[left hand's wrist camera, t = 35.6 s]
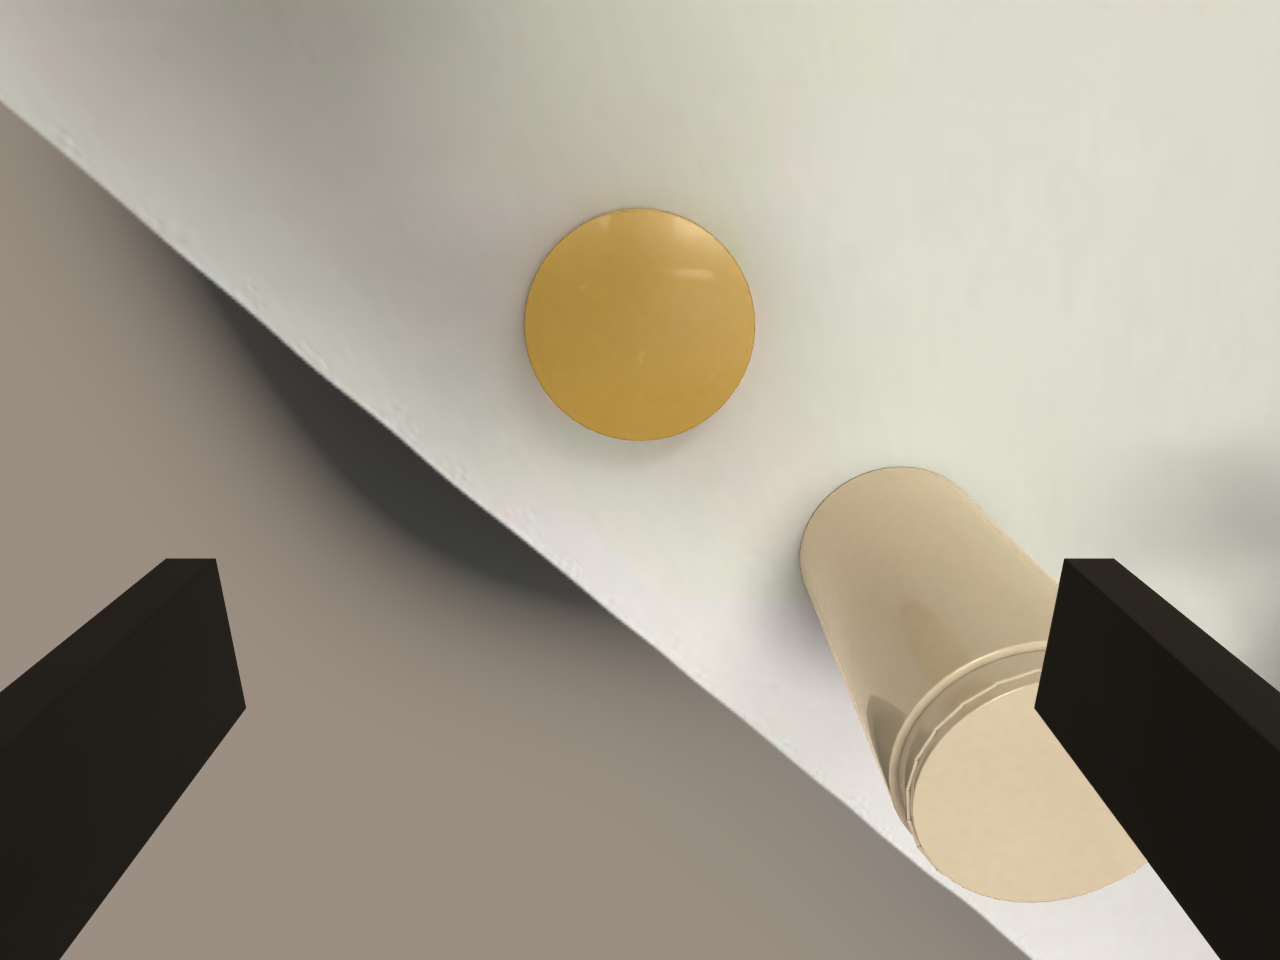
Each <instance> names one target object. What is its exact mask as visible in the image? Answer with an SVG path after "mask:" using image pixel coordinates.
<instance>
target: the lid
mask: <svg viewBox="0 0 1280 960" xmlns="http://www.w3.org/2000/svg"><path fill="white" fill-rule="evenodd" d="M754 334H755V314H754V308H753V302H752V297H751V294H750V290H749V287H748V284H747V282H746V280H745V277H744V275H743V273H742V271H741V269H740V267H739V266H738V264H737V263H736V261H735V260H734V258H733V256H732V255H731V254H730V253H729V252H728V250H727V249H726V248H725V247H724V246H723V245H722V244H721V243H720V242H719V241H718V240H717V239H716V238H715V237H714V236H712V235H711V234H710V233H709V232H708V231H706V230H705V229H703V228H702V227H700V226H699V225H697V224H696V223H694V222H692V221H690V220H688V219H686V218H684V217H682V216H679V215H676V214H673V213H670V212H667V211H662V210H656V209H647V208H632V209H622V210H618V211H613V212H609V213H606V214H603V215H600V216H598V217H595V218H593V219H591V220H589V221H587V222H586V223H584V224H582V225H580V226H579V227H577V228H576V229H575V230H573V231H572V232H571V233H569V234H568V235H567V236H566V237H564V238H563V239H562V240H561V241H560V242H559V243H558V244H557V245H556V246H555V247H554V248H553V249H552V251H551V252H550V253H549V255H548V256H547V257H546V258H545V260H544V261H543V263H542V265H541V266H540V268H539V270H538V272H537V273H536V276H535V278H534V280H533V283H532V285H531V288H530V291H529V295H528V299H527V303H526V310H525V340H526V348H527V351H528V355H529V359H530V363H531V365H532V367H533V370H534V372H535V375H536V377H537V379H538V380H539V382H540V384H541V386H542V387H543V389H544V390H545V392H546V393H547V394H548V396H549V397H550V398H551V400H552V401H553V402H554V403H555V404H556V405H557V406H558V407H559V408H560V409H561V410H562V411H563V412H564V413H566V414H567V415H568V416H569V417H571V418H572V419H573V420H575V421H576V422H578V423H579V424H581V425H583V426H584V427H586V428H588V429H590V430H593V431H595V432H597V433H599V434H603V435H606V436H609V437H613V438H618V439H624V440H636V441H645V440H657V439H661V438H666V437H671V436H674V435H676V434H679V433H682V432H685V431H687V430H689V429H691V428H693V427H695V426H697V425H698V424H700V423H702V422H703V421H705V420H706V419H708V418H709V417H710V416H711V415H713V414H714V413H715V412H716V411H717V410H718V409H720V408H721V407H722V405H723V404H724V403H725V402H726V401H727V400H728V399H729V398H730V396H731V395H732V393H733V392H734V391H735V389H736V388H737V386H738V385H739V383H740V381H741V379H742V377H743V375H744V373H745V371H746V368H747V366H748V363H749V360H750V357H751V353H752V348H753V344H754Z"/></svg>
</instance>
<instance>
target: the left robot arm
mask: <svg viewBox="0 0 1280 960" xmlns="http://www.w3.org/2000/svg"><path fill="white" fill-rule="evenodd" d="M245 709H246V705H245V701H244V696H243V691H242V686H241V681H240V676H239V671H238V666H237V661H236V656H235V651H234V646H233V641H232V637H231V632H230V627H229V622H228V617H227V612H226V607H225V602H224V597H223V592H222V587H221V582H220V577H219V572H218V568H217V563H216V559H165V560H164V561H163V562H161V563H160V564H159V565H158V566H156V567H155V568H154V569H153V570H151V571H150V572H149V573H148V574H146V575H145V576H144V577H143V578H141V579H140V580H139V581H138V582H137V583H135V584H134V585H133V586H132V587H130V588H129V589H128V590H127V591H125V592H124V593H123V594H122V595H120V596H119V597H118V598H117V599H115V600H114V601H113V602H112V603H111V604H109V605H108V606H107V607H106V608H104V609H103V610H102V611H101V612H99V613H98V614H97V615H96V616H94V617H93V618H92V619H91V620H89V621H88V622H87V623H86V624H84V625H83V626H82V627H81V628H79V629H78V630H77V631H76V632H75V633H73V634H72V635H71V636H70V637H68V638H67V639H66V640H65V641H63V642H62V643H61V644H60V645H58V646H57V647H56V648H55V649H53V650H52V651H51V652H50V653H48V654H47V655H46V656H45V657H44V658H42V659H41V660H40V661H39V662H37V663H36V664H35V665H34V666H32V667H31V668H30V669H29V670H27V671H26V672H25V673H24V674H22V675H21V676H20V677H19V678H17V679H16V680H15V681H14V682H13V683H11V684H10V685H9V686H8V687H6V688H5V689H4V690H3V691H1V692H0V960H60V958H61V957H62V956H63V954H64V953H65V952H66V950H67V949H68V947H69V946H70V945H71V943H72V942H73V941H74V939H75V938H76V937H77V935H78V934H79V933H80V931H81V930H82V929H83V927H84V926H85V925H86V923H87V922H88V921H89V919H90V918H91V916H92V915H93V914H94V912H95V911H96V910H97V908H98V907H99V906H100V904H101V903H102V902H103V900H104V899H105V898H106V896H107V895H108V893H109V892H110V891H111V889H112V888H113V887H114V885H115V884H116V883H117V881H118V880H119V879H120V877H121V876H122V875H123V873H124V872H125V870H126V869H127V868H128V867H129V865H130V864H131V862H132V861H133V860H134V858H135V857H136V856H137V854H138V853H139V852H140V850H141V849H142V848H143V846H144V845H145V844H146V842H147V841H148V840H149V838H150V837H151V836H152V834H153V833H154V831H155V830H156V829H157V827H158V826H159V825H160V823H161V822H162V821H163V819H164V818H165V817H166V815H167V814H168V813H169V811H170V810H171V809H172V807H173V806H174V804H175V803H176V802H177V800H178V799H179V798H180V796H181V795H182V794H183V792H184V791H185V790H186V788H187V787H188V785H189V784H190V783H191V782H192V780H193V779H194V778H195V776H196V775H197V773H198V772H199V771H200V769H201V768H202V767H203V765H204V764H205V763H206V761H207V760H208V759H209V757H210V756H211V755H212V753H213V752H214V751H215V749H216V748H217V746H218V745H219V744H220V742H221V741H222V740H223V738H224V737H225V736H226V734H227V733H228V732H229V730H230V729H231V728H232V726H233V725H234V724H235V722H236V721H237V719H238V718H239V717H240V715H241V714H242V713H243V711H244V710H245ZM1034 709H1035V710H1036V711H1037V713H1038V714H1039V715H1040V717H1041V718H1042V720H1043V721H1044V722H1045V724H1046V725H1047V726H1048V728H1049V729H1050V730H1051V732H1052V733H1053V734H1054V736H1055V737H1056V738H1057V740H1058V741H1059V742H1060V744H1061V745H1062V746H1063V748H1064V749H1065V751H1066V752H1067V753H1068V755H1069V756H1070V757H1071V759H1072V760H1073V761H1074V763H1075V764H1076V765H1077V767H1078V768H1079V769H1080V771H1081V772H1082V773H1083V775H1084V776H1085V778H1086V779H1087V780H1088V782H1089V783H1090V784H1091V786H1092V787H1093V788H1094V790H1095V791H1096V792H1097V794H1098V795H1099V796H1100V798H1101V799H1102V800H1103V802H1104V803H1105V804H1106V806H1107V807H1108V809H1109V810H1110V811H1111V813H1112V814H1113V815H1114V817H1115V818H1116V819H1117V821H1118V822H1119V823H1120V825H1121V826H1122V827H1123V829H1124V830H1125V831H1126V833H1127V834H1128V836H1129V837H1130V838H1131V840H1132V841H1133V842H1134V844H1135V845H1136V846H1137V848H1138V849H1139V850H1140V852H1141V853H1142V854H1143V856H1144V857H1145V858H1146V860H1147V861H1148V863H1149V864H1150V865H1151V867H1152V868H1153V869H1154V871H1155V872H1156V873H1157V875H1158V876H1159V877H1160V879H1161V880H1162V881H1163V883H1164V884H1165V885H1166V887H1167V888H1168V889H1169V891H1170V892H1171V894H1172V895H1173V896H1174V898H1175V899H1176V900H1177V902H1178V903H1179V904H1180V906H1181V907H1182V908H1183V910H1184V911H1185V912H1186V914H1187V915H1188V916H1189V918H1190V919H1191V921H1192V922H1193V923H1194V925H1195V926H1196V927H1197V929H1198V930H1199V931H1200V933H1201V934H1202V935H1203V937H1204V938H1205V939H1206V941H1207V942H1208V943H1209V945H1210V946H1211V947H1212V949H1213V950H1214V952H1215V953H1216V954H1217V956H1218V957H1219V958H1220V960H1280V692H1279V691H1277V690H1276V689H1275V688H1274V687H1272V686H1271V685H1270V684H1269V683H1267V682H1266V681H1265V680H1264V679H1263V678H1261V677H1260V676H1259V675H1258V674H1256V673H1255V672H1254V671H1253V670H1251V669H1250V668H1249V667H1248V666H1246V665H1245V664H1244V663H1243V662H1241V661H1240V660H1239V659H1238V658H1236V657H1235V656H1234V655H1233V654H1232V653H1230V652H1229V651H1228V650H1227V649H1225V648H1224V647H1223V646H1222V645H1220V644H1219V643H1218V642H1217V641H1215V640H1214V639H1213V638H1212V637H1210V636H1209V635H1208V634H1207V633H1205V632H1204V631H1203V630H1202V629H1201V628H1199V627H1198V626H1197V625H1196V624H1194V623H1193V622H1192V621H1191V620H1189V619H1188V618H1187V617H1186V616H1184V615H1183V614H1182V613H1181V612H1179V611H1178V610H1177V609H1176V608H1174V607H1173V606H1172V605H1171V604H1170V603H1168V602H1167V601H1166V600H1165V599H1163V598H1162V597H1161V596H1160V595H1158V594H1157V593H1156V592H1155V591H1153V590H1152V589H1151V588H1150V587H1148V586H1147V585H1146V584H1145V583H1143V582H1142V581H1141V580H1140V579H1139V578H1137V577H1136V576H1135V575H1134V574H1132V573H1131V572H1130V571H1129V570H1127V569H1126V568H1125V567H1124V566H1122V565H1121V564H1120V563H1119V562H1117V561H1116V560H1115V559H1064V563H1063V568H1062V572H1061V577H1060V582H1059V587H1058V592H1057V597H1056V602H1055V607H1054V612H1053V617H1052V622H1051V627H1050V632H1049V636H1048V641H1047V646H1046V651H1045V656H1044V661H1043V666H1042V671H1041V676H1040V681H1039V686H1038V691H1037V696H1036V700H1035V705H1034Z"/></svg>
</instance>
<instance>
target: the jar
mask: <svg viewBox="0 0 1280 960" xmlns="http://www.w3.org/2000/svg"><path fill="white" fill-rule="evenodd" d="M800 568H801V574H802V578H803V581H804V584H805V587H806V589H807V592H808V594H809V597H810V599H811V602H812V604H813V607H814V609H815V612H816V614H817V617H818V619H819V622H820V624H821V627H822V629H823V631H824V634H825V636H826V639H827V641H828V644H829V646H830V649H831V651H832V654H833V656H834V659H835V661H836V664H837V666H838V669H839V671H840V674H841V676H842V679H843V681H844V684H845V686H846V689H847V691H848V693H849V696H850V698H851V701H852V703H853V706H854V708H855V711H856V713H857V716H858V718H859V721H860V723H861V726H862V728H863V731H864V733H865V736H866V738H867V741H868V743H869V746H870V748H871V751H872V753H873V755H874V758H875V760H876V763H877V765H878V768H879V770H880V773H881V775H882V778H883V780H884V783H885V785H886V788H887V790H888V793H889V795H890V798H891V800H892V803H893V805H894V808H895V809H896V811H897V813H898V815H899V817H900V819H901V821H902V822H903V824H904V825H905V826H906V828H907V829H908V831H909V832H910V833H911V834H912V835H913V837H914V840H915V842H916V845H917V847H918V849H919V850H920V851H921V852H922V853H923V855H924V856H925V857H926V858H927V859H928V860H929V861H930V863H931V864H932V865H933V866H934V867H935V868H936V870H937V871H938V872H940V873H942V874H943V875H945V876H946V877H948V878H949V879H951V880H952V881H953V882H955V883H957V884H958V885H960V886H962V887H963V888H966V889H968V890H970V891H973V892H975V893H978V894H980V895H983V896H987V897H991V898H995V899H999V900H1005V901H1012V902H1031V903H1033V902H1050V901H1056V900H1063V899H1068V898H1072V897H1076V896H1080V895H1084V894H1087V893H1090V892H1093V891H1096V890H1099V889H1101V888H1104V887H1106V886H1108V885H1110V884H1112V883H1114V882H1117V881H1119V880H1120V879H1122V878H1124V877H1126V876H1127V875H1129V874H1131V873H1132V872H1133V873H1134V872H1135V871H1136V870H1137V869H1139V868H1140V867H1141V866H1142V865H1144V864H1145V863H1147V862H1148V861H1147V860H1146V858H1145V857H1144V856H1143V854H1142V853H1141V852H1140V850H1139V849H1138V848H1137V846H1136V845H1135V844H1134V842H1133V841H1132V840H1131V838H1130V837H1129V836H1128V834H1127V833H1126V831H1125V830H1124V829H1123V827H1122V826H1121V825H1120V823H1119V822H1118V821H1117V819H1116V818H1115V817H1114V815H1113V814H1112V813H1111V811H1110V810H1109V809H1108V807H1107V806H1106V804H1105V803H1104V802H1103V800H1102V799H1101V798H1100V796H1099V795H1098V794H1097V792H1096V791H1095V790H1094V788H1093V787H1092V786H1091V784H1090V783H1089V782H1088V780H1087V779H1086V778H1085V776H1084V775H1083V773H1082V772H1081V771H1080V769H1079V768H1078V767H1077V765H1076V764H1075V763H1074V761H1073V760H1072V759H1071V757H1070V756H1069V755H1068V753H1067V752H1066V751H1065V749H1064V748H1063V746H1062V745H1061V744H1060V742H1059V741H1058V740H1057V738H1056V737H1055V736H1054V734H1053V733H1052V732H1051V730H1050V729H1049V728H1048V726H1047V725H1046V724H1045V722H1044V721H1043V720H1042V718H1041V717H1040V715H1039V714H1038V713H1037V711H1036V710H1035V709H1034V705H1035V700H1036V696H1037V691H1038V686H1039V681H1040V676H1041V671H1042V666H1043V661H1044V656H1045V651H1046V646H1047V641H1048V636H1049V632H1050V627H1051V622H1052V617H1053V612H1054V607H1055V602H1056V597H1057V592H1058V587H1059V584H1058V583H1057V582H1056V581H1055V580H1054V579H1053V578H1052V577H1051V576H1050V575H1049V574H1048V573H1047V572H1045V571H1044V570H1043V569H1042V568H1041V567H1040V566H1039V565H1038V564H1037V563H1036V562H1035V561H1034V560H1033V559H1032V558H1031V557H1030V556H1029V555H1028V554H1027V553H1026V552H1025V551H1024V550H1023V549H1022V548H1021V547H1020V546H1019V545H1018V544H1017V543H1016V542H1015V541H1014V540H1013V539H1012V538H1011V537H1010V536H1009V535H1008V534H1006V533H1005V532H1004V531H1003V530H1002V529H1001V528H1000V527H999V526H998V525H997V524H996V523H995V522H994V521H993V520H992V519H991V518H990V517H989V516H988V515H987V514H986V513H985V512H984V511H983V510H982V509H981V508H980V507H979V506H978V505H977V504H976V503H975V502H974V501H973V500H972V499H971V498H970V497H968V496H967V495H966V494H965V493H964V492H963V491H962V490H961V489H960V488H959V487H958V486H957V485H956V484H954V483H953V482H951V481H950V480H948V479H946V478H944V477H942V476H940V475H938V474H936V473H933V472H930V471H927V470H923V469H917V468H910V467H894V468H885V469H880V470H875V471H872V472H869V473H865V474H863V475H860V476H858V477H856V478H854V479H852V480H850V481H848V482H847V483H845V484H843V485H842V486H840V487H839V488H838V489H836V490H835V491H834V492H833V493H831V494H830V495H829V496H828V497H827V498H826V499H825V500H824V501H823V502H822V503H821V505H820V506H819V507H818V509H817V510H816V511H815V513H814V514H813V516H812V518H811V519H810V521H809V523H808V525H807V527H806V530H805V532H804V535H803V539H802V543H801V549H800Z"/></svg>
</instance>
